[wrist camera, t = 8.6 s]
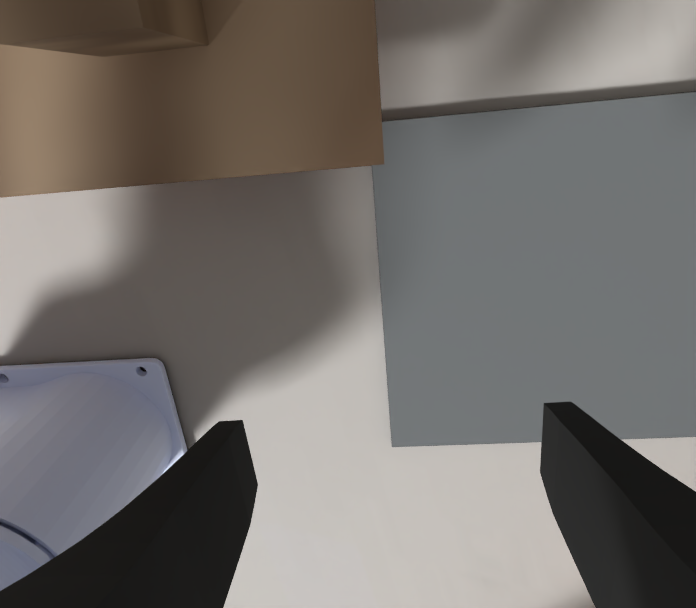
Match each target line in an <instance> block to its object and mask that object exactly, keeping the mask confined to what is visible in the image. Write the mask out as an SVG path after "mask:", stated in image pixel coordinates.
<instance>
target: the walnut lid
mask: <svg viewBox="0 0 696 608" xmlns="http://www.w3.org/2000/svg"><path fill="white" fill-rule="evenodd" d="M383 164H384V148H383V131H382V115H381V99H380V82H379V66H378V49H377V33H376V16H375V0H0V197H11V196H23V195H35V194H46V193H58V192H69V191H81V190H93V189H104V188H116V187H128V186H139V185H151V184H162V183H174V182H186V181H197V180H209V179H220V178H232V177H244V176H255V175H267V174H278V173H290V172H302V171H313V170H325V169H337V168H348V167H360V166H371V165H383Z"/></svg>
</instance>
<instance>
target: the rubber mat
mask: <svg viewBox="0 0 696 608" xmlns="http://www.w3.org/2000/svg"><path fill="white" fill-rule="evenodd" d="M382 131H383V148H384V164H383V165H372V174H373V189H374V203H375V217H376V231H377V245H378V259H379V273H380V287H381V301H382V315H383V329H384V343H385V357H386V371H387V385H388V399H389V413H390V427H391V441H392V447H409V446H438V445H468V444H497V443H527V442H542V427H543V407H544V403H552V402H570V401H571V402H573V403H574V404H575V405H577V406H578V407H579V408H581V409H582V410H583V411H584V412H586V413H587V414H588V415H590V416H591V417H592V418H593V419H595V420H596V421H597V422H598V423H600V424H601V425H602V426H604V427H605V428H606V429H607V430H609V431H610V432H611V433H613V434H614V435H615V436H616V437H618V438H619V439H645V438H674V437H696V92H685V93H675V94H664V95H654V96H643V97H633V98H622V99H612V100H601V101H590V102H580V103H569V104H559V105H548V106H538V107H527V108H517V109H506V110H496V111H485V112H475V113H464V114H454V115H443V116H432V117H422V118H411V119H401V120H390V121H382Z"/></svg>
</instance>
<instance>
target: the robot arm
mask: <svg viewBox="0 0 696 608" xmlns="http://www.w3.org/2000/svg"><path fill="white" fill-rule="evenodd" d="M140 367H143V368H145V369H146V371H147V372H143V371H142V370H141V369H140ZM4 375H6V376H7V377H8V378H7V377H5V376H4ZM540 473H541V477H542V480H543V483H544V487H545V490H546V493H547V497H548V500H549V503H550V506H551V509H552V512H553V515H554V517H555V519H556V521H557V524H558V526H559V528H560V530H561V533H562V535H563V537H564V539H565V542H566V544H567V546H568V548H569V550H570V553H571V555H572V557H573V559H574V561H575V564H576V566H577V568H578V570H579V572H580V575H581V577H582V579H583V581H584V583H585V585H586V588H587V590H588V592H589V594H590V596H591V599H592V601H593V603H594V605H595V607H596V608H696V492H695V491H694V490H692V489H691V488H689V487H688V486H686V485H685V484H683V483H682V482H680V481H679V480H677V479H675V478H674V477H672V476H671V475H669V474H668V473H666V472H665V471H663V470H662V469H660V468H659V467H658V466H656V465H655V464H653V463H652V462H650V461H649V460H648V459H646V458H645V457H643V456H642V455H641V454H639V453H638V452H637V451H635V450H634V449H632V448H631V447H630V446H628V445H627V444H626V443H624V442H623V441H622V440H620V439H619V438H618V437H616V436H615V435H614V434H613V433H611V432H610V431H609V430H607V429H606V428H605V427H604V426H602V425H601V424H600V423H598V422H597V421H596V420H595V419H593V418H592V417H591V416H590V415H588V414H587V413H586V412H584V411H583V410H582V409H581V408H579V407H578V406H577V405H575V404H574V403H573V402H571V401H570V402H552V403H544V407H543V427H542V447H541V466H540ZM257 486H258V483H257V479H256V475H255V471H254V467H253V462H252V458H251V454H250V450H249V445H248V441H247V437H246V433H245V429H244V424H243V420H237V421H220V422H218V423H217V424H215V425H214V426H213V427H212V428H211V429H210V430H209V431H208V432H207V433H206V434H204V435H203V436H202V437H201V438H200V439H199V440H198V441H197V442H196V443H195V444H194V445H193V446H192V447H191V448H190V449H189V450H187V447H186V443H185V440H184V436H183V432H182V429H181V425H180V421H179V418H178V414H177V410H176V407H175V403H174V399H173V396H172V392H171V388H170V385H169V381H168V377H167V374H166V370H165V367H164V365H163V363H162V362H161V361H160V360H158V359H156V358H143V359H124V360H105V361H86V362H67V363H48V364H29V365H10V366H0V608H223V607H224V604H225V600H226V597H227V594H228V591H229V588H230V585H231V582H232V579H233V576H234V573H235V570H236V567H237V564H238V561H239V558H240V555H241V552H242V549H243V546H244V543H245V539H246V536H247V533H248V530H249V527H250V523H251V518H252V513H253V508H254V503H255V497H256V492H257Z"/></svg>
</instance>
